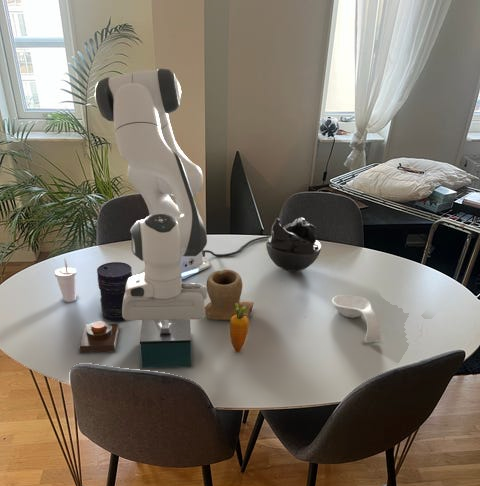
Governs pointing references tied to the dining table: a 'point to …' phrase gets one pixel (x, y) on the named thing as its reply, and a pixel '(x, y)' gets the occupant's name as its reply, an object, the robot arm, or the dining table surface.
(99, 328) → the button
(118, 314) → the oil barrel
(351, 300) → the spoon rest
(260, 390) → the dining table surface
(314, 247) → the coal bowl
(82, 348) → the button block
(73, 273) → the smoothie
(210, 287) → the stone cup
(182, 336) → the lid
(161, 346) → the tea tin
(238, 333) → the carrot
